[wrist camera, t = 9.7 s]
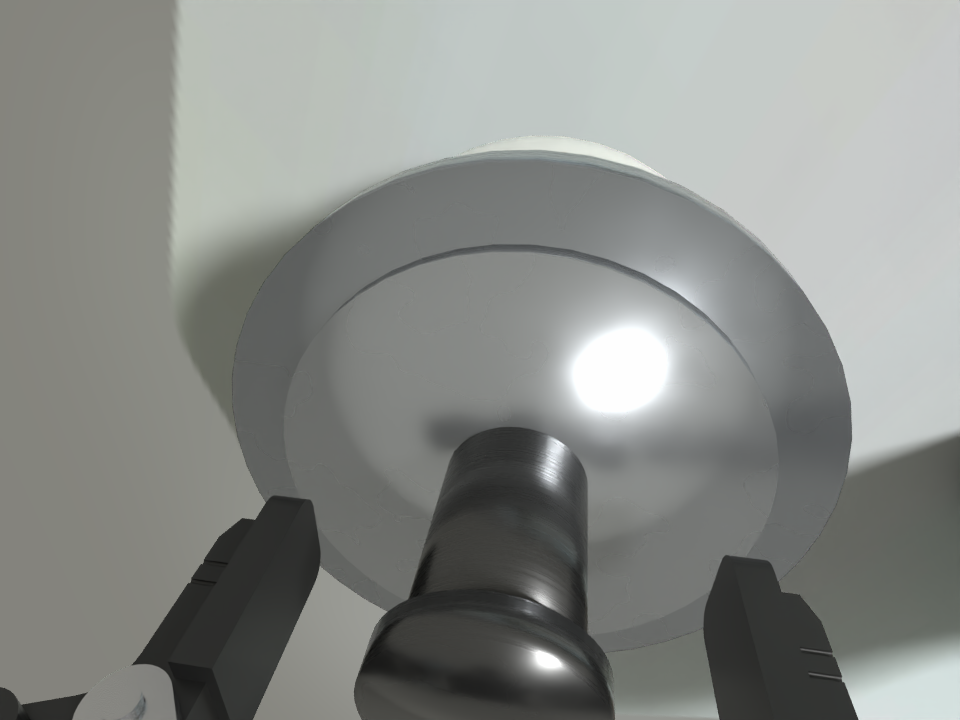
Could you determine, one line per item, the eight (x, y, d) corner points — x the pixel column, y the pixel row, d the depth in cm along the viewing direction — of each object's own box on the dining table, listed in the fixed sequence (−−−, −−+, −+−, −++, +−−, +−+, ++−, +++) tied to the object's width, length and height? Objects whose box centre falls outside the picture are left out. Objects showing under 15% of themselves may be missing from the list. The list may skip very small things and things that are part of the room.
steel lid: (945, 169, 10) (1381, 379, 5) (747, 654, 18) (824, 971, 12) (194, 132, 12) (-158, 254, 6) (295, 589, 19) (171, 838, 14)
